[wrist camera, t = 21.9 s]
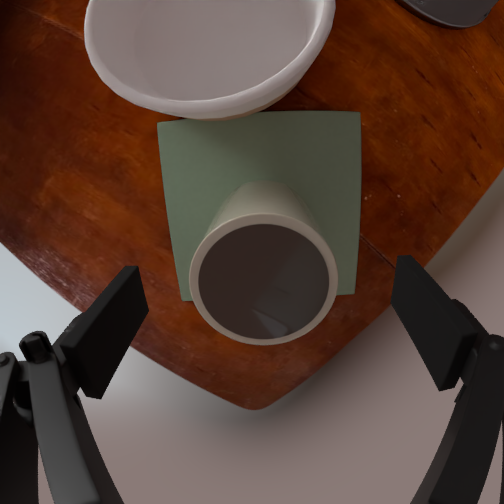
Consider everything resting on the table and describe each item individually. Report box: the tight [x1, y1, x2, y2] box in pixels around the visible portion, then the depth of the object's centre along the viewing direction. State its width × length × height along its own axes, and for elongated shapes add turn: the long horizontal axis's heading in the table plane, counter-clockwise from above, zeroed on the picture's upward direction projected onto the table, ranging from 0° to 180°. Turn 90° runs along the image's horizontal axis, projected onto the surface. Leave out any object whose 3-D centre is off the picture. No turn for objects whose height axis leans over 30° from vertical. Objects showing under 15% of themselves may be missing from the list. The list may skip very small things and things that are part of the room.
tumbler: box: [189, 180, 338, 345], centre depth 23 cm, size 11×9×9 cm
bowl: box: [84, 0, 336, 121], centre depth 18 cm, size 17×17×8 cm
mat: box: [157, 111, 361, 301], centre depth 28 cm, size 18×18×1 cm
